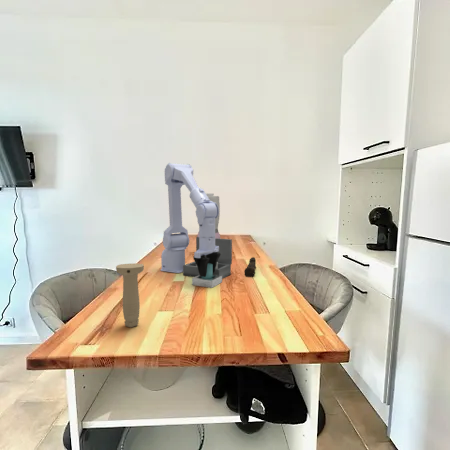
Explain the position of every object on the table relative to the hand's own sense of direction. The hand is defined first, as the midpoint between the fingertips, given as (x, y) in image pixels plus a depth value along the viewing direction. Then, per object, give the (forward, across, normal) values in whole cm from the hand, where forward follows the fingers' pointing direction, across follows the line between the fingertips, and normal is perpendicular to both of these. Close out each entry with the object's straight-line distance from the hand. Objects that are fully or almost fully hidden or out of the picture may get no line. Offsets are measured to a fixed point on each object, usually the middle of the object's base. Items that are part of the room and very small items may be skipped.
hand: (207, 274), depth 115 cm
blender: (+4, +46, +24) cm, 52 cm away
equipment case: (+3, +10, +6) cm, 13 cm away
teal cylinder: (+3, 0, 0) cm, 3 cm away
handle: (+4, -40, -1) cm, 40 cm away
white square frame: (+3, 0, 0) cm, 3 cm away
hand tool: (+4, +24, -7) cm, 25 cm away
